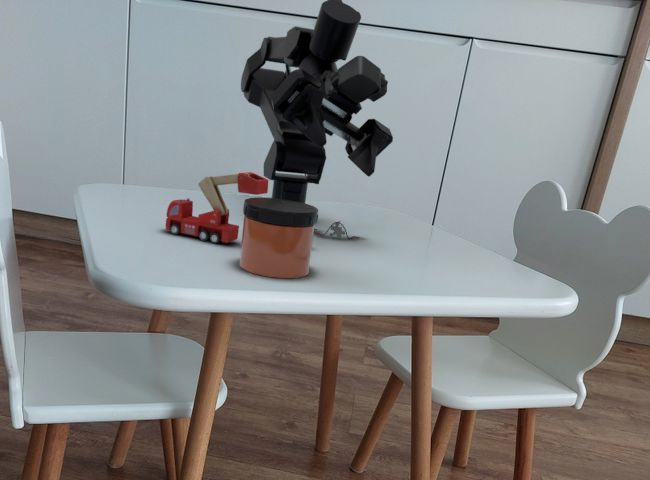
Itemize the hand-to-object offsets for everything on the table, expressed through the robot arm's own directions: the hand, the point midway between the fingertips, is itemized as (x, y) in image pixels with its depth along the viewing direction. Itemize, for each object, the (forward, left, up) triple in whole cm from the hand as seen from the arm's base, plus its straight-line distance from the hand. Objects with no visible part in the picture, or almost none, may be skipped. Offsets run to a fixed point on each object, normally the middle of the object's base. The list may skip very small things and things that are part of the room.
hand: (347, 160), depth 91 cm
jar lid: (+12, -10, -5) cm, 17 cm away
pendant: (-11, +2, -13) cm, 17 cm away
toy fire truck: (0, -17, -13) cm, 21 cm away
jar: (+12, -10, -13) cm, 20 cm away
